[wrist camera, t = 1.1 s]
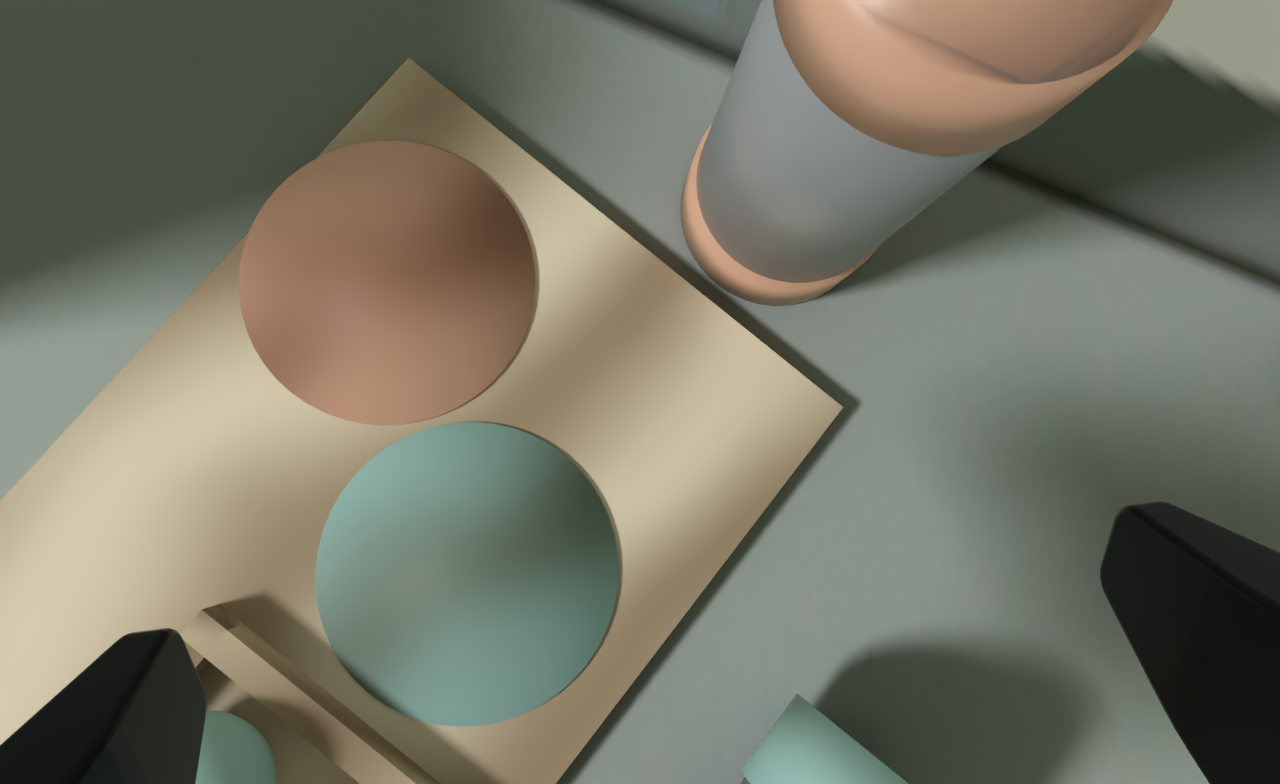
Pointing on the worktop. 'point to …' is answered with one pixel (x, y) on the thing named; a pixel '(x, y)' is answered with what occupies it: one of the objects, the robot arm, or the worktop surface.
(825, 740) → the tube teal
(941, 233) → the worktop surface
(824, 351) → the worktop surface
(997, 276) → the worktop surface
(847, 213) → the tube terracotta
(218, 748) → the ball teal
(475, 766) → the board
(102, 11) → the worktop surface
